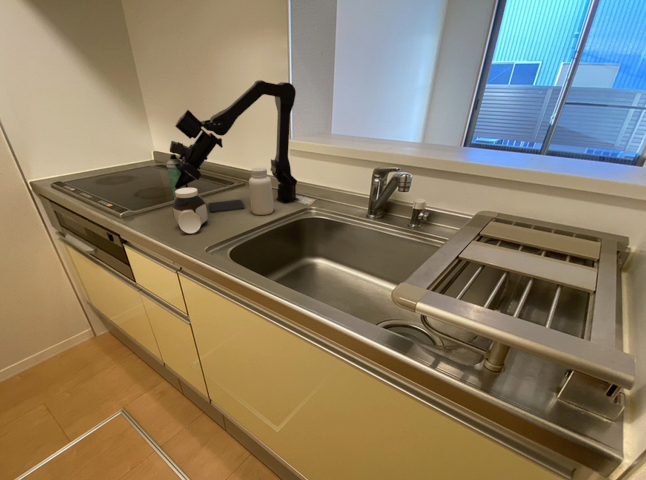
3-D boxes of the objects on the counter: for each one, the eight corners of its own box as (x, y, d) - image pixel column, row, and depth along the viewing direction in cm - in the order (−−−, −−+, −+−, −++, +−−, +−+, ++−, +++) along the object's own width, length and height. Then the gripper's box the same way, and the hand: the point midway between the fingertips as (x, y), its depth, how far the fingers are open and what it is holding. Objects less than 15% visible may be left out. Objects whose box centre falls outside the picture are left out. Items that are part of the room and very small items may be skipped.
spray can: (196, 211, 126) (184, 153, 115) (186, 216, 122) (173, 156, 111) (184, 209, 128) (172, 152, 117) (174, 213, 124) (160, 155, 113)
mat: (239, 200, 136) (239, 199, 136) (243, 208, 128) (243, 207, 128) (209, 204, 133) (209, 203, 133) (211, 212, 125) (211, 211, 125)
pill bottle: (254, 207, 129) (250, 166, 120) (275, 208, 128) (273, 166, 119) (249, 215, 122) (244, 171, 114) (271, 215, 121) (268, 172, 113)
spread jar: (200, 218, 120) (193, 185, 113) (218, 226, 113) (212, 191, 107) (168, 228, 113) (159, 193, 106) (186, 237, 106) (178, 200, 100)
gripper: (179, 127, 119) (153, 163, 122) (182, 135, 104) (153, 176, 107) (205, 150, 125) (181, 183, 128) (212, 160, 111) (184, 198, 114)
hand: (175, 185), depth 119 cm, fingers open, 8 cm apart
